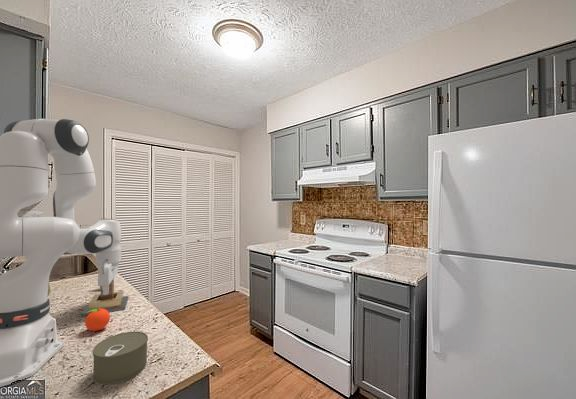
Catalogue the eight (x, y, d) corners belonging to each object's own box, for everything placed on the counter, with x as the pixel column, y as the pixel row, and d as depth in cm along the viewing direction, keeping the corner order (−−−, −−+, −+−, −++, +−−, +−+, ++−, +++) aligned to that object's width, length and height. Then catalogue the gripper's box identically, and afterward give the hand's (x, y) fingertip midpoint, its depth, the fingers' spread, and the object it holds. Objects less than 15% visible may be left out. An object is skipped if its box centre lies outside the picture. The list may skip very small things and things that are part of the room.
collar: (125, 309, 104) (125, 299, 104) (81, 316, 97) (81, 305, 97) (128, 297, 116) (128, 289, 116) (90, 303, 110) (90, 294, 110)
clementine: (76, 336, 83) (76, 314, 83) (87, 326, 89) (87, 306, 89) (105, 333, 85) (105, 311, 85) (113, 323, 91) (113, 303, 91)
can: (155, 355, 73) (156, 331, 73) (131, 385, 61) (131, 356, 61) (112, 356, 72) (113, 331, 72) (79, 386, 60) (80, 357, 60)
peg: (112, 304, 106) (112, 283, 106) (100, 306, 104) (100, 284, 104) (113, 301, 109) (113, 280, 109) (102, 303, 108) (102, 281, 108)
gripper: (113, 261, 99) (112, 297, 98) (121, 252, 117) (121, 283, 117) (92, 263, 96) (92, 300, 96) (104, 254, 114) (104, 285, 114)
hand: (108, 290), depth 106 cm, fingers open, 8 cm apart
